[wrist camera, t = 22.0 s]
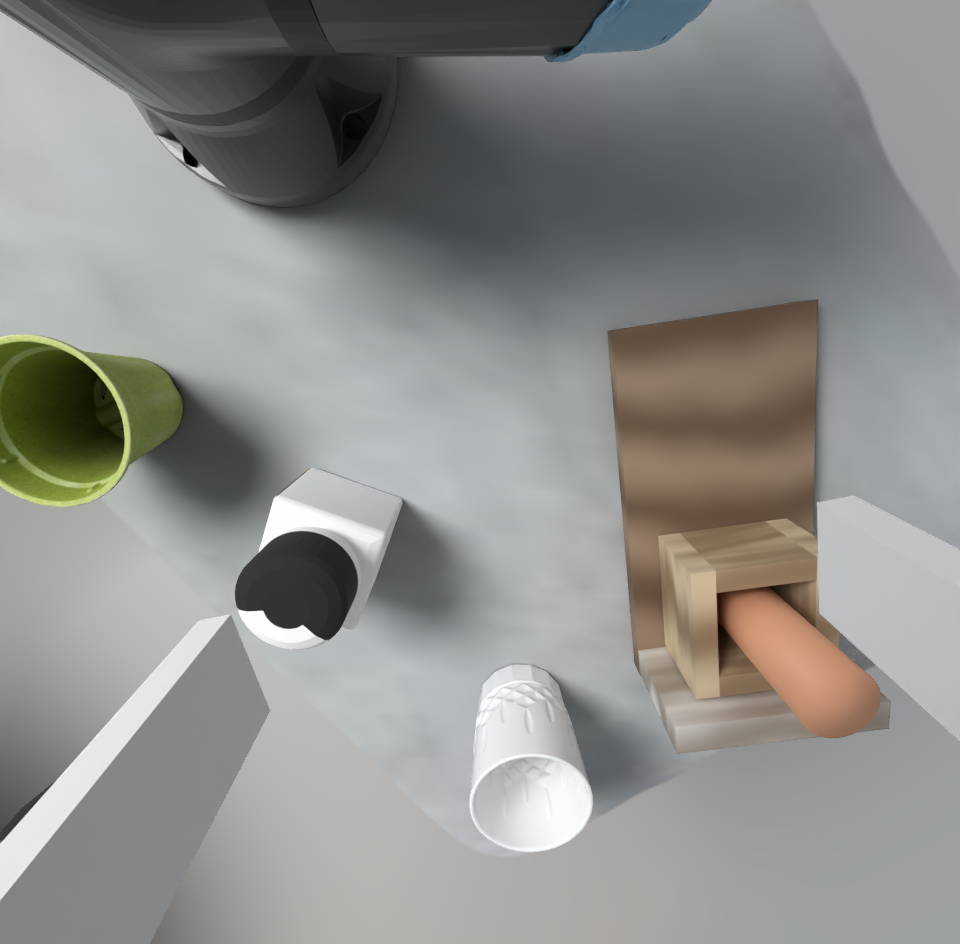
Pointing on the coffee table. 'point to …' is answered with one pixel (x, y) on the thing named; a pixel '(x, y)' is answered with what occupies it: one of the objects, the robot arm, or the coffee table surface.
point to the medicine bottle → (316, 560)
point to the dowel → (799, 662)
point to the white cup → (527, 764)
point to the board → (713, 480)
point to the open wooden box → (729, 567)
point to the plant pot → (77, 418)
